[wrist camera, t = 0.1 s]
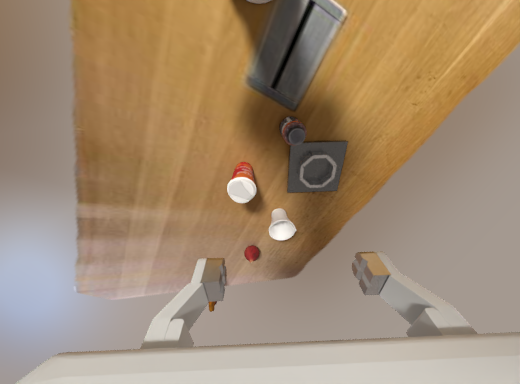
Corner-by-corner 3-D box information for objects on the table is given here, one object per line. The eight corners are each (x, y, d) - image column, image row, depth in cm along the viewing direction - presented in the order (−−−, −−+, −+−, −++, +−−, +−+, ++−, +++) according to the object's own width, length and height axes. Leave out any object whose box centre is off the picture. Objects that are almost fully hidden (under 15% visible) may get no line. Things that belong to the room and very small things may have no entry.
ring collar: (290, 142, 56) (292, 145, 53) (346, 140, 56) (351, 144, 53) (287, 190, 65) (288, 196, 62) (335, 189, 65) (339, 194, 62)
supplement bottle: (304, 125, 54) (315, 135, 44) (289, 141, 56) (297, 154, 46) (289, 111, 52) (297, 118, 42) (274, 128, 54) (279, 139, 44)
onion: (252, 239, 76) (252, 254, 70) (261, 246, 79) (262, 262, 72) (242, 246, 78) (240, 262, 71) (251, 252, 81) (251, 269, 74)
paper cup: (260, 168, 60) (262, 190, 48) (246, 184, 63) (244, 209, 51) (241, 153, 58) (238, 173, 46) (227, 171, 60) (220, 194, 48)
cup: (290, 222, 72) (295, 241, 64) (266, 222, 72) (268, 241, 63) (292, 203, 68) (298, 221, 59) (267, 203, 67) (269, 221, 59)
